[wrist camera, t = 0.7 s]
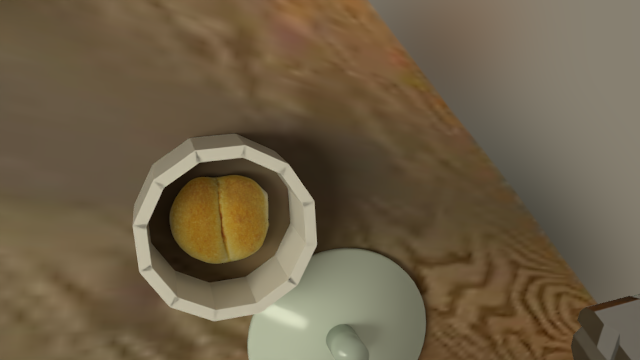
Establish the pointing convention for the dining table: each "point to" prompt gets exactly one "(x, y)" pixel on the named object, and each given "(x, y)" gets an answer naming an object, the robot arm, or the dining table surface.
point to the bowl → (239, 292)
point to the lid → (343, 312)
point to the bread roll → (220, 218)
